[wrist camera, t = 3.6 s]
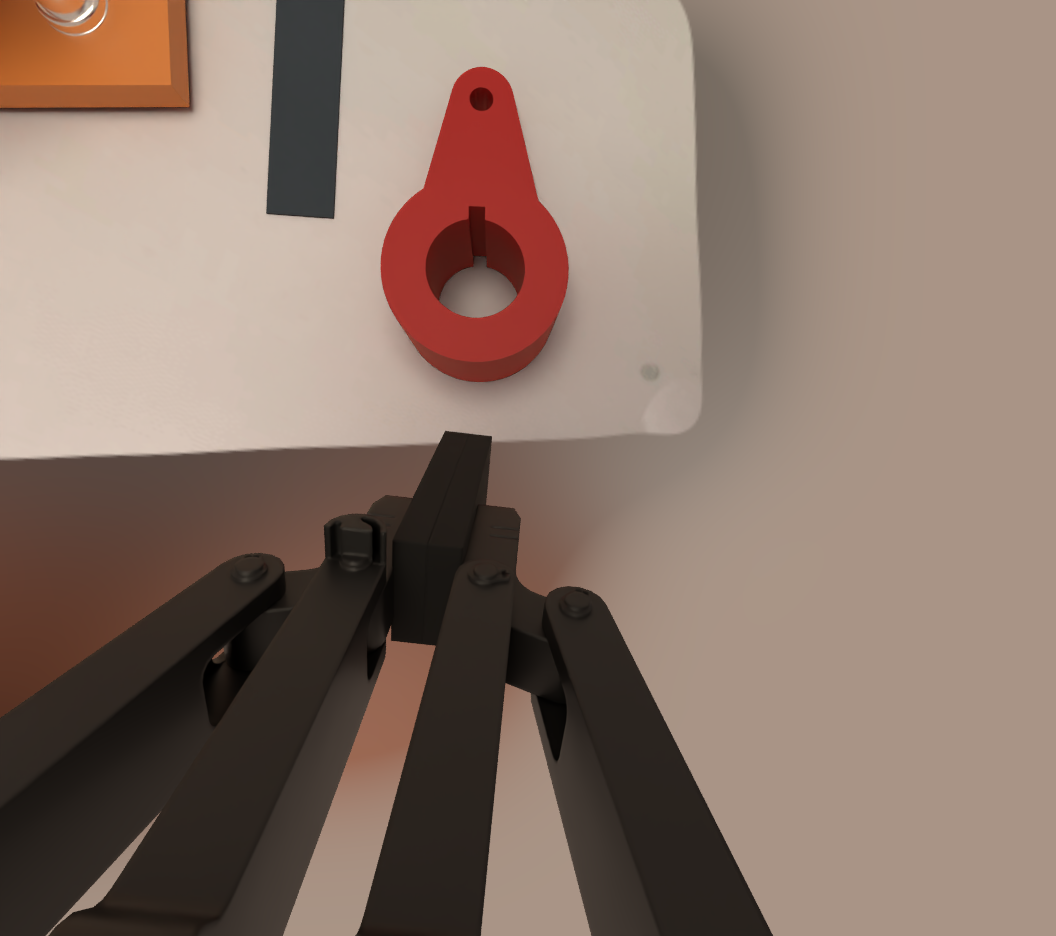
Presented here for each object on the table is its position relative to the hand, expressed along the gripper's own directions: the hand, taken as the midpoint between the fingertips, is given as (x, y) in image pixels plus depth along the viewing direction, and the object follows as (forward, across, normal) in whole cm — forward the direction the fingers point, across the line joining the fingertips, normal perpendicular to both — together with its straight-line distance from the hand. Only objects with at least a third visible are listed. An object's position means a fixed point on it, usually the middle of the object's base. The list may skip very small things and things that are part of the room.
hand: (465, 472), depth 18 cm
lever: (+21, -2, +6) cm, 22 cm away
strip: (+24, -14, +13) cm, 31 cm away
